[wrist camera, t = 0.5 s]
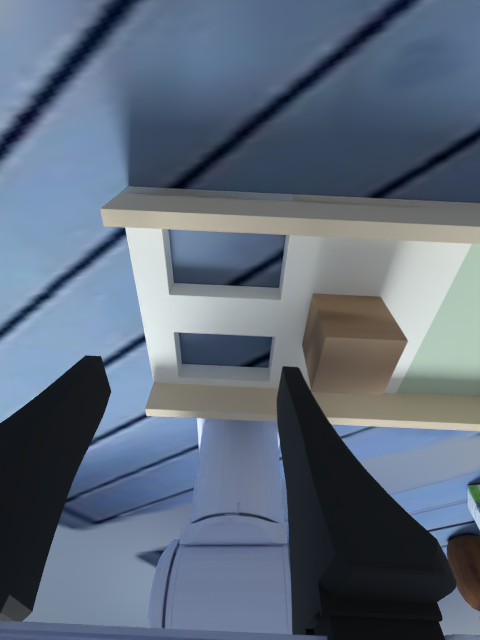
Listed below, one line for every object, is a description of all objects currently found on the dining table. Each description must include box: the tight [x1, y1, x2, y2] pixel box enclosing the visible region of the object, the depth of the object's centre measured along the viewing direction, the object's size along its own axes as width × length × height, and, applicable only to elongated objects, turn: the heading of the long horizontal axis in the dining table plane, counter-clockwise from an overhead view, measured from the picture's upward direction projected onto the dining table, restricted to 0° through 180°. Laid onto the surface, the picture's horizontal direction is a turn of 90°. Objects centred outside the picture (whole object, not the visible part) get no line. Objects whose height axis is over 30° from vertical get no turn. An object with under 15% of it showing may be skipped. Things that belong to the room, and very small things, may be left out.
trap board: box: [100, 186, 480, 431], centre depth 20 cm, size 15×28×4 cm, turn 88°
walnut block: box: [302, 293, 408, 395], centre depth 19 cm, size 4×4×4 cm
